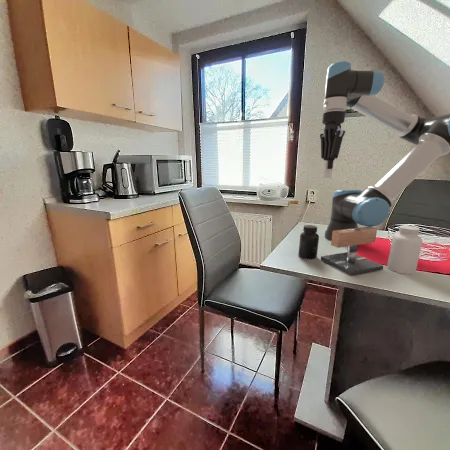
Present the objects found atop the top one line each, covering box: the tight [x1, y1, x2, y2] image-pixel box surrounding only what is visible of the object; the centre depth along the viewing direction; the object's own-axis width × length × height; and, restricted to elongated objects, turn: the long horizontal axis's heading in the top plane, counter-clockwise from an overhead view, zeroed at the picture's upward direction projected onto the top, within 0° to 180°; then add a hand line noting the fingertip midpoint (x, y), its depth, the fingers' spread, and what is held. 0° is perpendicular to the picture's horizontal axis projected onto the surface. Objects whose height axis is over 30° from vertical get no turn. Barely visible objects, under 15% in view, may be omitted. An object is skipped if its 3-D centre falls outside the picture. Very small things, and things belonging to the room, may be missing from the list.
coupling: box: [330, 226, 378, 253], centre depth 85 cm, size 3×17×8 cm, turn 111°
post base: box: [320, 250, 384, 277], centre depth 87 cm, size 14×14×5 cm
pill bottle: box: [386, 224, 423, 275], centre depth 82 cm, size 8×8×15 cm
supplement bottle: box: [298, 224, 320, 260], centre depth 93 cm, size 7×7×12 cm
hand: (327, 177), depth 95 cm, fingers closed
